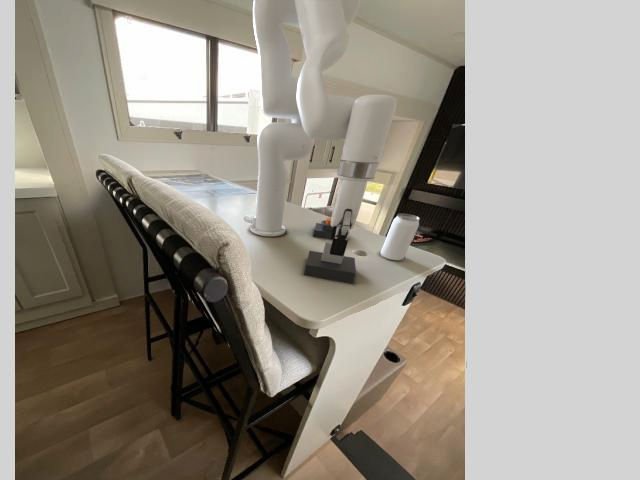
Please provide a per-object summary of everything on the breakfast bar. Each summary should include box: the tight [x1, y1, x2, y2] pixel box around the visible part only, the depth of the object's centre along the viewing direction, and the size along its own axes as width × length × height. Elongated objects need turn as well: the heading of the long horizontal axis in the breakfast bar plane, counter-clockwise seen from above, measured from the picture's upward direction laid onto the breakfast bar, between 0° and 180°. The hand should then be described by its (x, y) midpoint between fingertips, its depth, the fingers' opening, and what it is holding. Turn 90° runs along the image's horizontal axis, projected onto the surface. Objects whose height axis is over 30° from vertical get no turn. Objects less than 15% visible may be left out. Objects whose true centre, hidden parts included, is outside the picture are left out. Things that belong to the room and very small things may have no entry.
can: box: [380, 213, 421, 262], centre depth 72 cm, size 6×6×12 cm
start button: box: [325, 217, 331, 225], centre depth 86 cm, size 4×4×2 cm
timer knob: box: [321, 239, 348, 264], centre depth 64 cm, size 5×2×5 cm, turn 72°
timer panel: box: [303, 250, 357, 285], centre depth 66 cm, size 12×9×3 cm
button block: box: [312, 219, 333, 240], centre depth 88 cm, size 10×8×4 cm
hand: (336, 247), depth 62 cm, fingers open, 9 cm apart
